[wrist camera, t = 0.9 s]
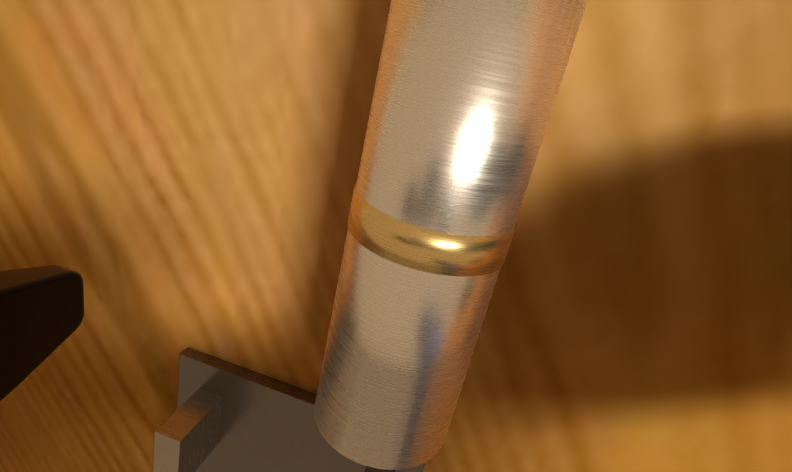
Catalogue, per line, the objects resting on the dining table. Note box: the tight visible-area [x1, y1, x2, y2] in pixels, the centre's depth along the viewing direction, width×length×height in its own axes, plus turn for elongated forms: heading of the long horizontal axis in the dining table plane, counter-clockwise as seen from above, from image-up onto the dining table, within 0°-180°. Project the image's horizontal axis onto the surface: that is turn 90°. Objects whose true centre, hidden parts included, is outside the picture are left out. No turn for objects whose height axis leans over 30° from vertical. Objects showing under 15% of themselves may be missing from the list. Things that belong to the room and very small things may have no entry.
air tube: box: [314, 0, 588, 470], centre depth 16 cm, size 5×16×5 cm, turn 168°
